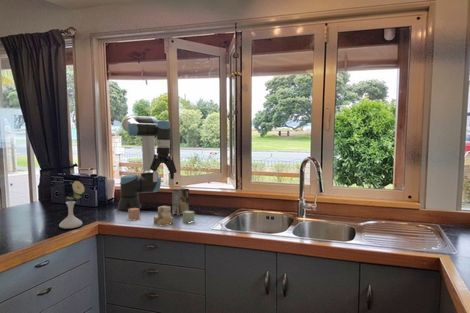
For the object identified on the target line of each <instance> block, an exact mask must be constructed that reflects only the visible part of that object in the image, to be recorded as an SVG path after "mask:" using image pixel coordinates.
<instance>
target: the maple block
mask: <svg viewBox="0 0 470 313" xmlns="http://www.w3.org/2000/svg"><path fill="white" fill-rule="evenodd" d="M171 210H172V206H169V205H161V206H158V207H157V216H158V218H163V219H165V218H169V217H172V216H171V215H172V214H171Z"/></svg>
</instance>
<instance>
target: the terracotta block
mask: <svg viewBox="0 0 470 313" xmlns="http://www.w3.org/2000/svg"><path fill="white" fill-rule="evenodd" d="M140 211H141V209H138V208H131V209H128V211H127V219H128V220H130V219H131V220H130V221H134V219H136V220H140V219H141V218H140V217H141V215H140V214H141V212H140ZM139 218H140V219H139Z"/></svg>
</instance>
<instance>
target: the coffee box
mask: <svg viewBox="0 0 470 313" xmlns="http://www.w3.org/2000/svg"><path fill="white" fill-rule="evenodd" d="M171 195H172V197H171V205H172V206H171V210H172V214H171V215H174V214H177V215H176V216H178V215H179V216H181V215H180V214H183V212H185V211H190V206H189V205H190V201H189V200H190V190H189V188H186V187H185V188H184V187H182V188H181V187H180V188H176V189H175V188H174V189H172V190H171Z"/></svg>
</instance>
